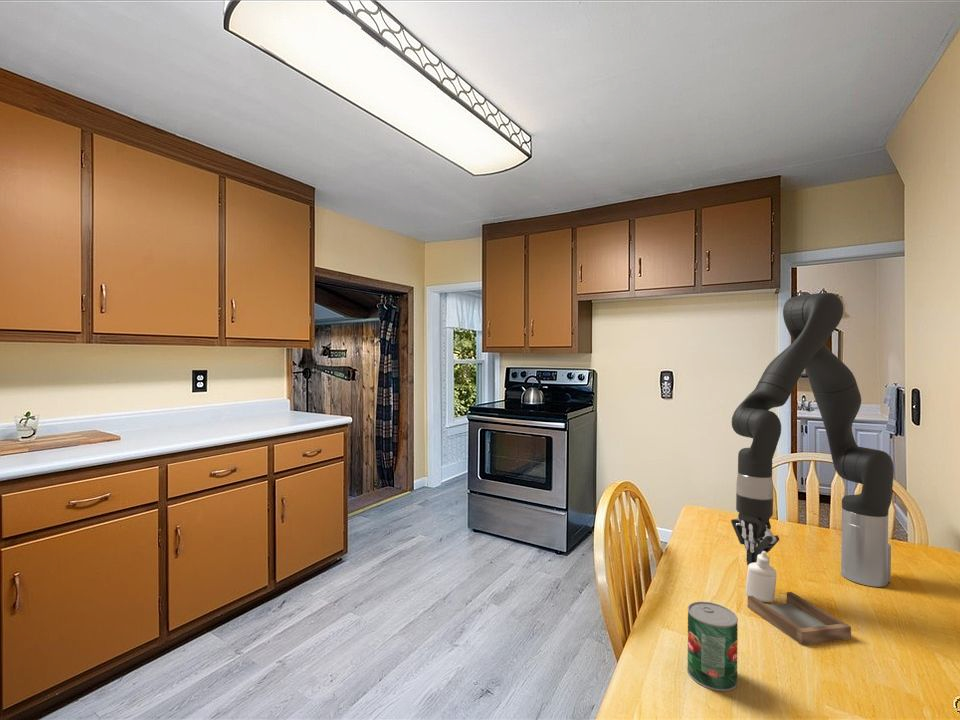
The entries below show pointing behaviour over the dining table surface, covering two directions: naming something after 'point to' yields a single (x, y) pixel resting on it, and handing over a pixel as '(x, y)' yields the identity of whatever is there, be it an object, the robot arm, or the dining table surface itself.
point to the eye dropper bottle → (761, 579)
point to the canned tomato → (712, 646)
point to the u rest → (801, 620)
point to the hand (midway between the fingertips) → (753, 566)
